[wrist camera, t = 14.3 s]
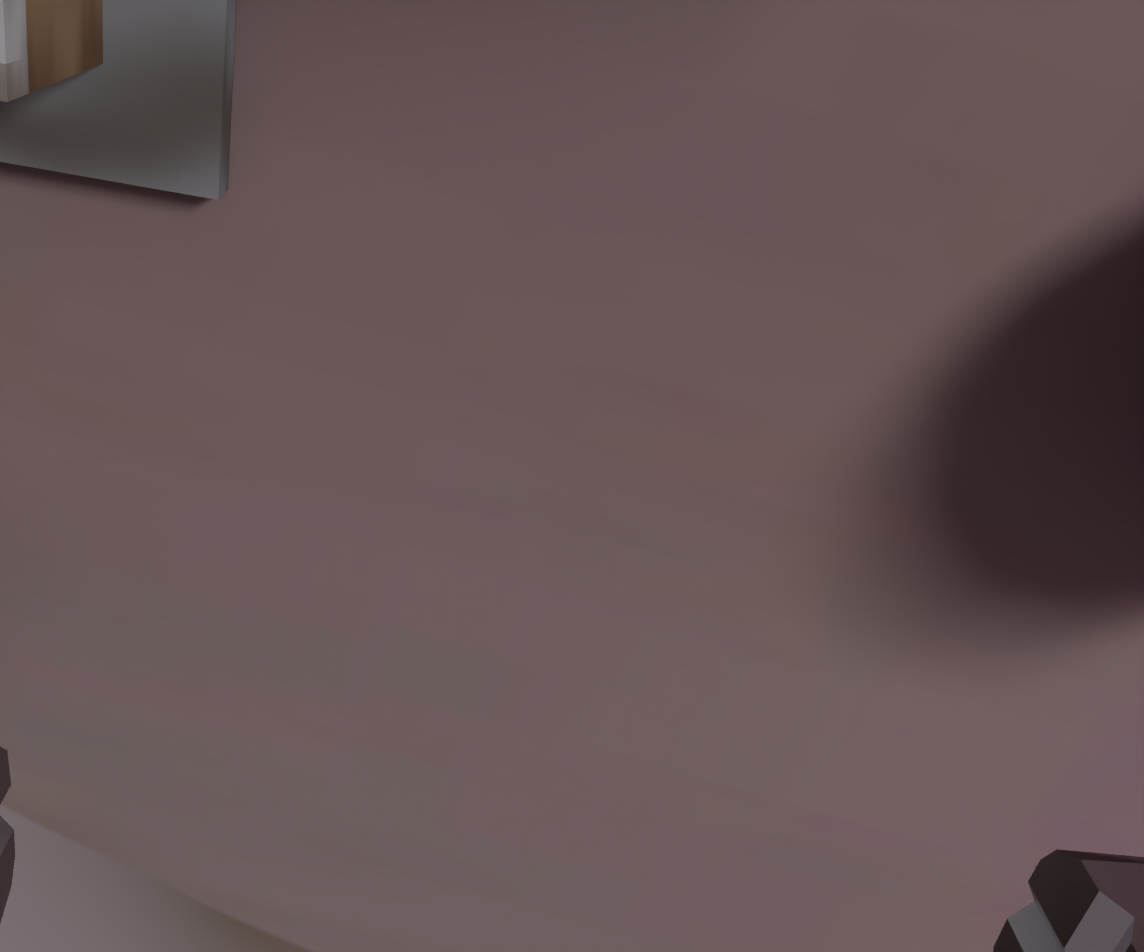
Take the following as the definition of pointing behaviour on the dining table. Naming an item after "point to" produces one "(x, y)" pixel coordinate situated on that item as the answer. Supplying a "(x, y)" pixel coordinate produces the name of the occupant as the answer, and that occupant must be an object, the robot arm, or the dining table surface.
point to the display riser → (120, 90)
